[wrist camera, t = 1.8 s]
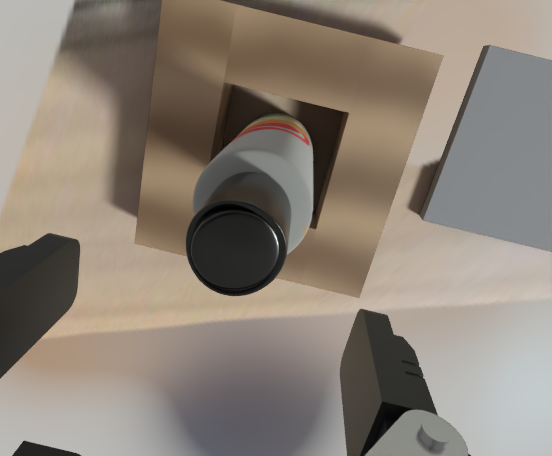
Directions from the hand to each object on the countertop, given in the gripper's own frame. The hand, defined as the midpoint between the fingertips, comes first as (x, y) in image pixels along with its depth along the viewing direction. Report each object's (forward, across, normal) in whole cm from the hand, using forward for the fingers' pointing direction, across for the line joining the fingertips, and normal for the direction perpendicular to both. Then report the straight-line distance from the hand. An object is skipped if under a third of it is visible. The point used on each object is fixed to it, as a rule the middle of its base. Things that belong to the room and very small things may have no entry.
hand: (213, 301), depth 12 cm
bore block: (+23, 0, 0) cm, 23 cm away
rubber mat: (+23, -19, -4) cm, 30 cm away
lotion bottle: (+24, 0, 0) cm, 24 cm away
